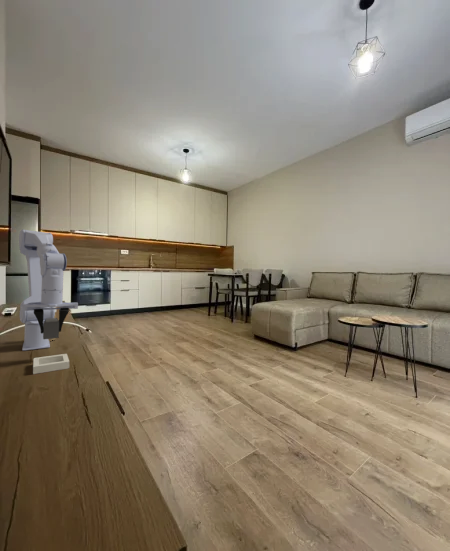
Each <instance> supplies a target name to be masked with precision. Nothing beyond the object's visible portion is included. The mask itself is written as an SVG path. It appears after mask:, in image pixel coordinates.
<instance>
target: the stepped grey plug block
mask: <svg viewBox="0 0 450 551" xmlns="http://www.w3.org/2000/svg"><path fill="white" fill-rule="evenodd" d="M43 327H44V333H43V339H53V338H56V339H59V337H60V334H59V333H60V332H59V318H58V317H56V318H45V321H44V324H43Z"/></svg>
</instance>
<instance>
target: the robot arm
mask: <svg viewBox="0 0 450 551" xmlns="http://www.w3.org/2000/svg"><path fill="white" fill-rule="evenodd" d="M53 243H54V236H53V234H52V233H51V232H43V231H37V230H29V229H21V230H20V231H19V235H18V246H19V248H18V250H19V252H20V254H22V255H23V256H25V258H26V263H27V279H28V280H27V281H28V297H27V298H25V299H23V300H22V301H21V303H20V304H19V320H20V322H21V323H22V324H24V339H23V340H24V342H23V343H22V349H21V350H22V351H30V350H31V351H32V350H37V349H38V350H39V349H49V348H50V347H51V343H50V341H49V339H43V333H44V327H43V324H44V321H45V318H54V316H55V309H57V310H58V320H59V333H60V332H62V328H63V326H64V325H63V324H64V322H65V320H66V318H67V316H68V314H69V311H70V309H71V310H73V309H74V310H75V309H78V308H79V303H78V301H77V302H63V299H64V298H63V295H64V294H63V293H64V291H63V290H64V271H66V269H67V263H68V261H67V259H68V258H67V256H66V254H65V253H64V252H63V253H60V252H59V251H58V249H57V247H56V246H55V245H54V244H53ZM54 307H56V308H54Z"/></svg>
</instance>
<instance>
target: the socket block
mask: <svg viewBox="0 0 450 551" xmlns="http://www.w3.org/2000/svg"><path fill="white" fill-rule="evenodd" d="M32 364H33V365H32V374H33V375H36V374H37V375H38V374H42V373H48V372H55V371H61V370H67V369H70V359H69V356H68V353H62V354H61V353H60V354H54V355H48V356H46V355H45V356H41V357H34V358H33V363H32Z"/></svg>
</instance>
